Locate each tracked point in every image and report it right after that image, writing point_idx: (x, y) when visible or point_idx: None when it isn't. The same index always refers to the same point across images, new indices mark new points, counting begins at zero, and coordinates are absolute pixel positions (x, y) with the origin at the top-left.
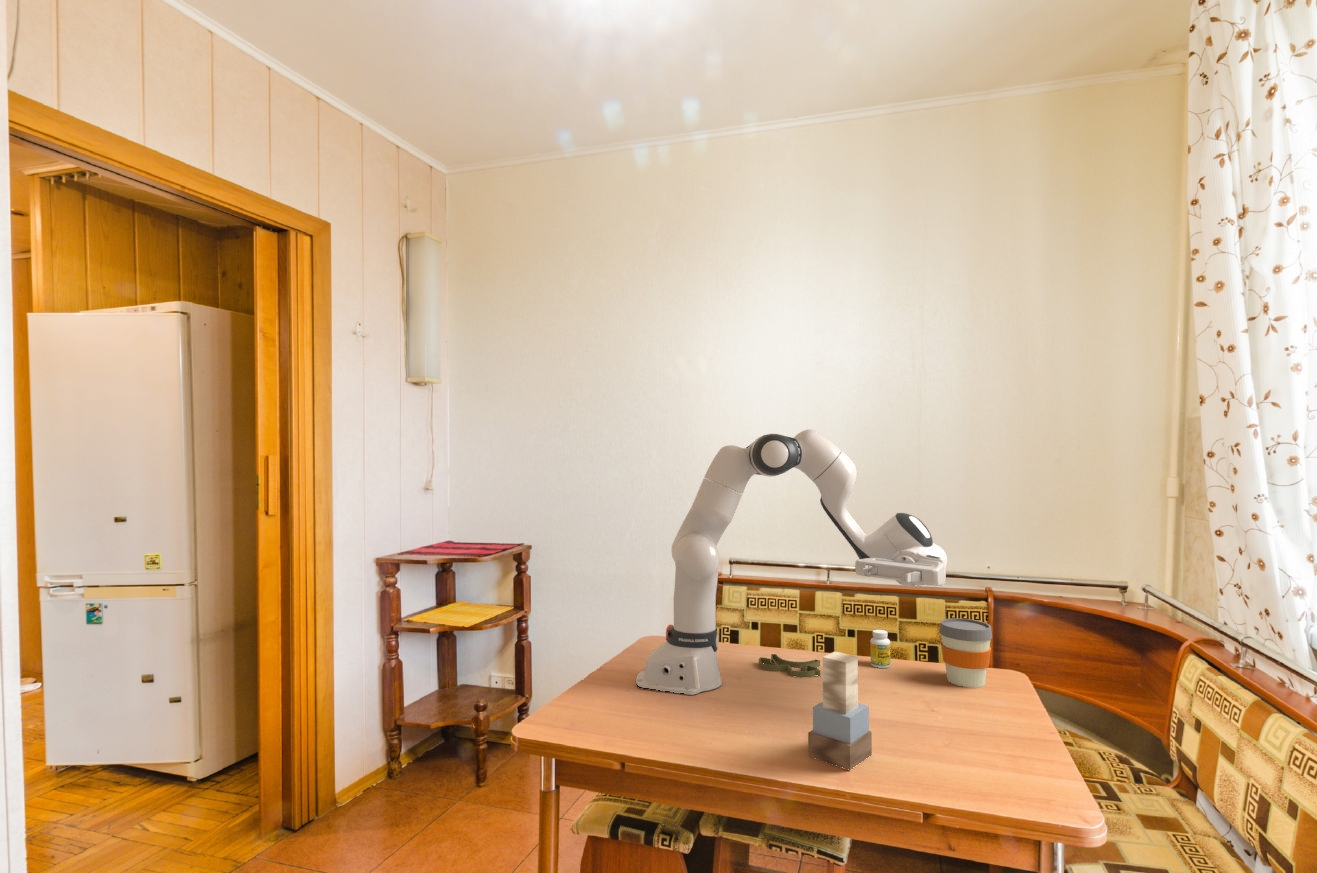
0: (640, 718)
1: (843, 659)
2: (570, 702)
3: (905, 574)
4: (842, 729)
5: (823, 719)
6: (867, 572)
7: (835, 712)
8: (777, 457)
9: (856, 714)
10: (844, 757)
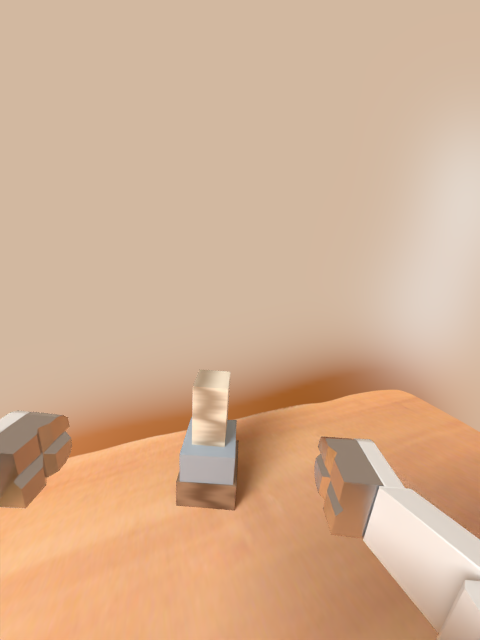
0: (402, 439)
1: (205, 374)
2: (468, 431)
3: (35, 412)
4: None
5: None
6: (321, 447)
7: None
8: None
9: (188, 428)
10: None
